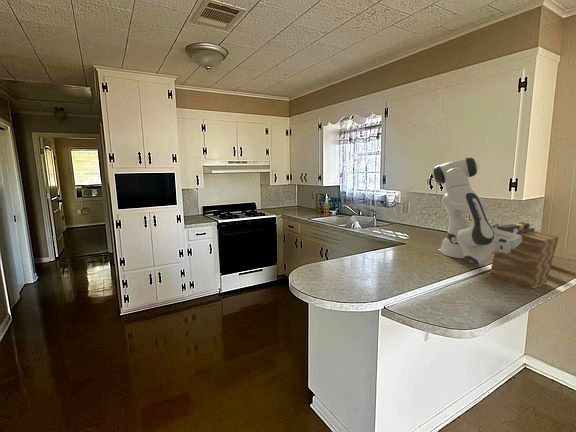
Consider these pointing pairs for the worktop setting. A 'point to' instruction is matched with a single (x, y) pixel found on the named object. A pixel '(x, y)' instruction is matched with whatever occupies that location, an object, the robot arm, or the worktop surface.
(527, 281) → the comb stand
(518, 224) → the dark long bar piece
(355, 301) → the worktop surface
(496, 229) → the robot arm
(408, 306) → the worktop surface
